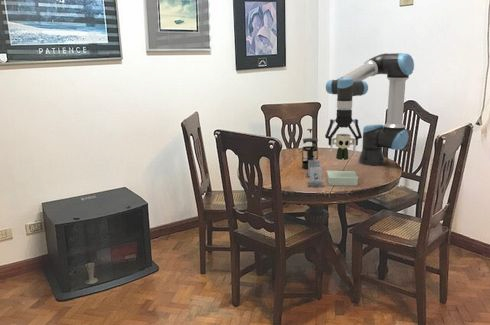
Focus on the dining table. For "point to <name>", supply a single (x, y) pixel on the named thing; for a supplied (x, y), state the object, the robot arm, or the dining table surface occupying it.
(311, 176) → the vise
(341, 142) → the character mug
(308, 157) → the french press
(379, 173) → the dining table surface
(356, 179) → the stand
